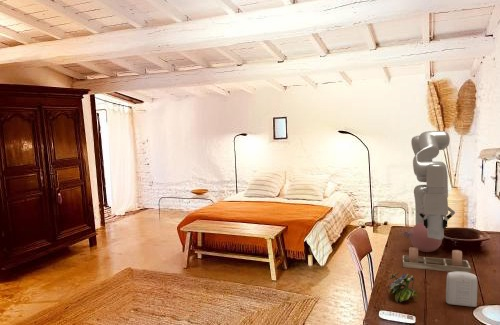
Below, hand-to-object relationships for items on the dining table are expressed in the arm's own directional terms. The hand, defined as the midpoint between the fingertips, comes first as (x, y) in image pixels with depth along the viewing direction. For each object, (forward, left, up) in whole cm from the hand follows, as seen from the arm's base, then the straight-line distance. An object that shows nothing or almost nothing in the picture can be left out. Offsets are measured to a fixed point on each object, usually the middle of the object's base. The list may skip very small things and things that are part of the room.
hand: (435, 227), depth 176 cm
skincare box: (0, 0, -5) cm, 5 cm away
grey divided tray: (0, 0, -19) cm, 19 cm away
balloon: (-21, -5, -19) cm, 29 cm away
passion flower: (+37, -14, -19) cm, 44 cm away
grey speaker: (+37, +6, -19) cm, 42 cm away
